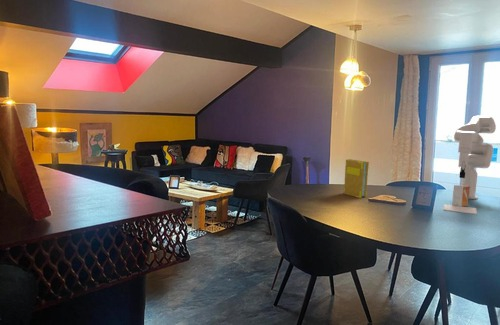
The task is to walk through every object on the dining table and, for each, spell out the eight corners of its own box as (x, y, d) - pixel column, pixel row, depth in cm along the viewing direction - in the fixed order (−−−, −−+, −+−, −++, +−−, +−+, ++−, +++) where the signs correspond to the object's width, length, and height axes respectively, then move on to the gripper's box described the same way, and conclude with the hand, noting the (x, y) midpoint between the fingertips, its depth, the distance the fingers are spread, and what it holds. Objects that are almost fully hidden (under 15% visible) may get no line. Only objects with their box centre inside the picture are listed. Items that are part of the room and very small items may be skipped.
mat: (444, 205, 251) (444, 204, 251) (476, 209, 243) (476, 208, 243) (443, 210, 237) (443, 209, 237) (477, 214, 229) (477, 213, 229)
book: (366, 196, 271) (368, 161, 268) (360, 197, 267) (362, 162, 264) (348, 192, 285) (350, 159, 281) (341, 193, 281) (343, 159, 278)
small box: (461, 206, 245) (463, 186, 245) (451, 204, 251) (453, 185, 250) (468, 205, 250) (470, 186, 249) (458, 204, 255) (460, 184, 254)
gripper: (458, 149, 263) (455, 176, 265) (458, 150, 250) (455, 178, 252) (470, 150, 259) (468, 177, 261) (471, 151, 246) (468, 179, 248)
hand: (462, 177), depth 257 cm, fingers closed
